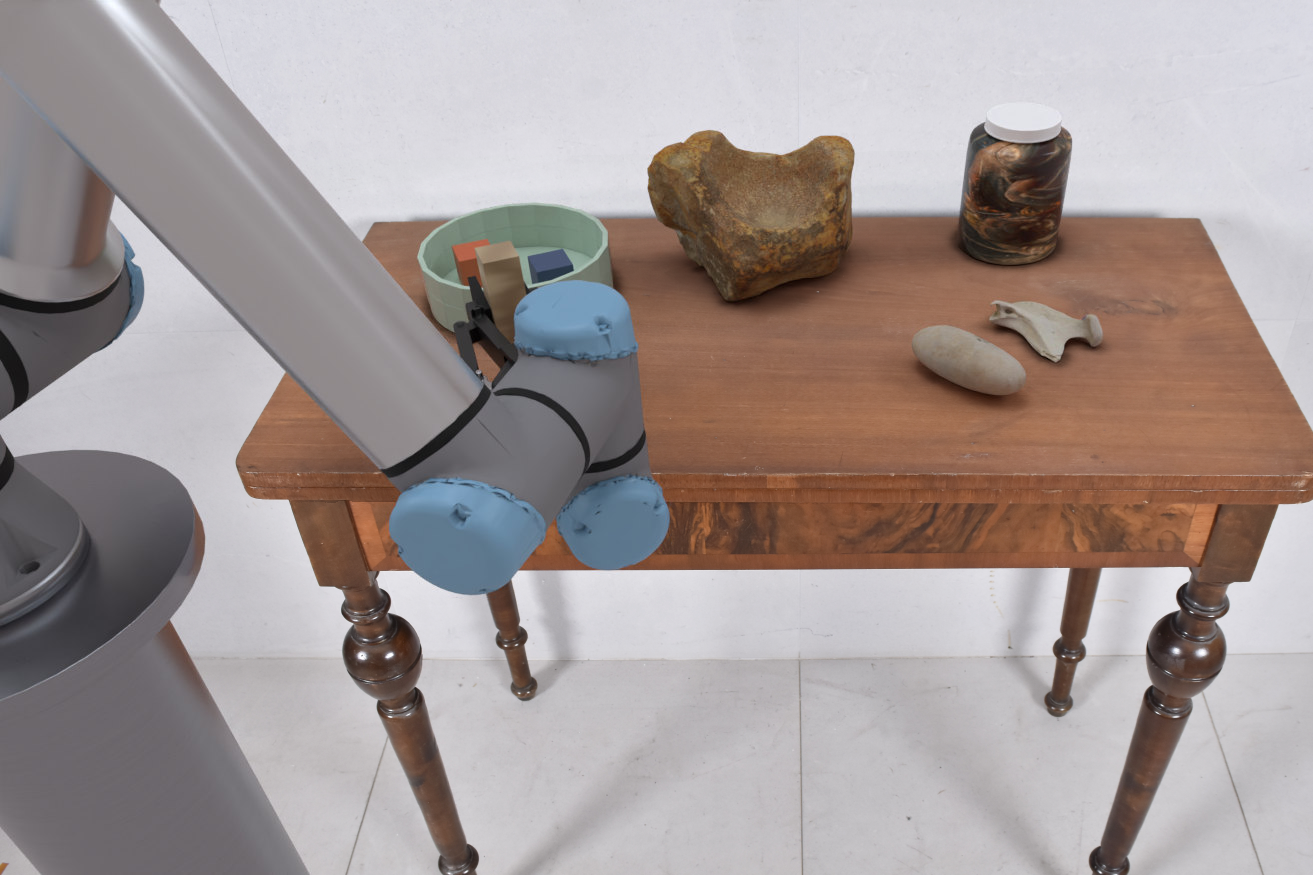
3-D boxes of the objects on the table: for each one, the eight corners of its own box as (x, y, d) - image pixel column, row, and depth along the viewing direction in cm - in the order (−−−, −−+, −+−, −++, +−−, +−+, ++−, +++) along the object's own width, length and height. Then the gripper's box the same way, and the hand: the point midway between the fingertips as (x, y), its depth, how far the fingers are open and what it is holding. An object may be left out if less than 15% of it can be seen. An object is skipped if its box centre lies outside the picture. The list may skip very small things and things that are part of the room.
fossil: (1065, 369, 106) (1071, 339, 104) (981, 325, 112) (986, 296, 110) (1107, 344, 109) (1114, 315, 107) (1024, 303, 116) (1029, 275, 114)
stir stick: (514, 415, 102) (482, 263, 91) (506, 398, 104) (474, 247, 94) (546, 407, 103) (519, 255, 92) (538, 390, 105) (510, 240, 95)
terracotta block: (466, 294, 118) (458, 261, 115) (458, 278, 121) (451, 245, 118) (501, 286, 119) (495, 253, 117) (493, 270, 122) (487, 238, 119)
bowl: (450, 359, 110) (438, 307, 106) (415, 272, 124) (403, 224, 120) (638, 315, 116) (632, 265, 112) (584, 237, 130) (577, 190, 126)
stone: (928, 321, 108) (1040, 325, 101) (928, 384, 110) (1038, 391, 103) (898, 328, 104) (1013, 332, 97) (899, 392, 106) (1011, 401, 98)
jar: (947, 221, 131) (960, 98, 121) (1042, 217, 131) (1062, 94, 122) (967, 268, 122) (982, 139, 112) (1068, 263, 122) (1092, 134, 113)
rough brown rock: (653, 326, 115) (646, 200, 105) (650, 242, 127) (644, 121, 116) (867, 319, 117) (881, 195, 106) (845, 237, 129) (856, 118, 118)
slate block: (542, 305, 116) (536, 272, 113) (532, 288, 119) (527, 256, 116) (578, 297, 117) (573, 264, 114) (567, 281, 120) (562, 248, 117)
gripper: (469, 482, 84) (416, 339, 101) (663, 430, 89) (582, 301, 106) (450, 405, 80) (397, 267, 96) (656, 354, 84) (572, 231, 101)
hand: (494, 285), depth 101 cm, fingers closed on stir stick, 3 cm apart
